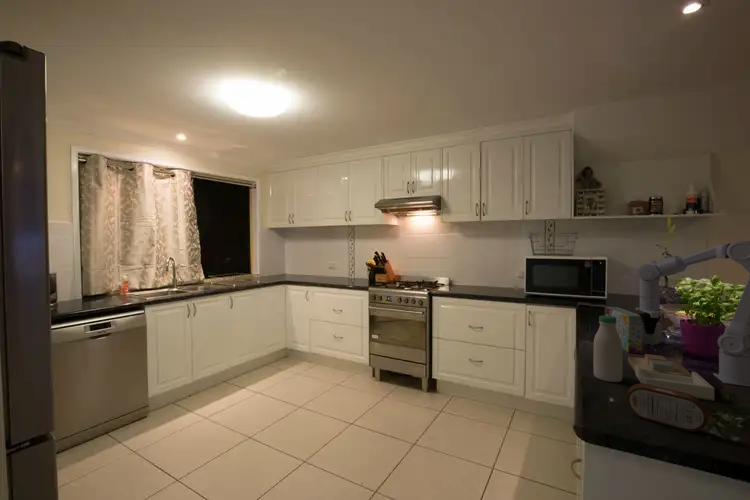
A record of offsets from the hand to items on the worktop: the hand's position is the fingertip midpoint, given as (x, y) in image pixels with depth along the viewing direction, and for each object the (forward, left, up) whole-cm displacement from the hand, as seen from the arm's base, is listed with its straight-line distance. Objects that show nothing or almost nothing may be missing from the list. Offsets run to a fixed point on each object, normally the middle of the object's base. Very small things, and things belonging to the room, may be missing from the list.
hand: (649, 333), depth 123 cm
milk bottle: (+16, +25, -10) cm, 31 cm away
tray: (0, +25, -10) cm, 27 cm away
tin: (+8, +52, -10) cm, 54 cm away
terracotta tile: (0, +8, -8) cm, 11 cm away
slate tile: (0, +14, -8) cm, 16 cm away
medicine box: (-7, -29, -10) cm, 32 cm away
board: (0, +11, -10) cm, 15 cm away
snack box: (+5, -19, -10) cm, 22 cm away
